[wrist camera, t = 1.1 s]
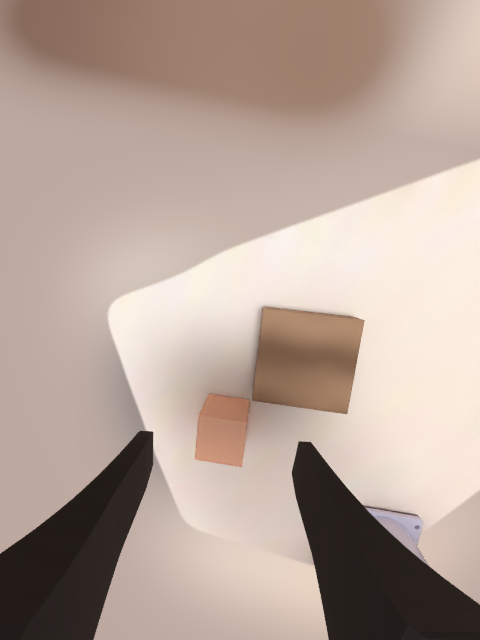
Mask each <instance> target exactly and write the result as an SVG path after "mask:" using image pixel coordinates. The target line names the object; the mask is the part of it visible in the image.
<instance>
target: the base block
mask: <svg viewBox="0 0 480 640" xmlns="http://www.w3.org/2000/svg"><path fill="white" fill-rule="evenodd" d="M363 325H364V320H362V319H359V318H356V317H350V316H342V315H333V314H324V313H315V312H306V311H298V310H289V309H280V308H271V307H263V313H262V322H261V330H260V338H259V347H258V355H257V363H256V371H255V380H254V388H253V398H252V401H259V402H266V403H273V404H280V405H287V406H294V407H301V408H308V409H314V410H321V411H328V412H335V413H342V414H347V412H348V407H349V401H350V396H351V390H352V385H353V380H354V374H355V369H356V363H357V358H358V353H359V347H360V342H361V336H362V331H363Z"/></svg>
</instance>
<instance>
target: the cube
mask: <svg viewBox="0 0 480 640" xmlns="http://www.w3.org/2000/svg"><path fill="white" fill-rule="evenodd" d="M249 402H250V400H246V399H240V398H233V397H226V396H219V395H212V394H209V395H208V397H207V399H206V401H205V403H204V406H203V408H202V410H201V412H200V414H199V417H198V429H197V440H196V452H195V459H196V460H202V461H208V462H214V463H220V464H226V465H232V466H238V467H242V463H243V454H244V446H245V438H246V429H247V421H248V411H249Z"/></svg>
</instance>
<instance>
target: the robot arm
mask: <svg viewBox="0 0 480 640" xmlns="http://www.w3.org/2000/svg"><path fill="white" fill-rule="evenodd" d="M152 466H153V432H149V431H140V432H138V433H137V434H136V436H135V437H134V438H133V439H132V440H131V441H130V443H129V444H128V445H127V446H126V447H125V448H124V449H123V450H122V451H121V452H120V454H119V455H118V456H117V457H116V458H115V459H114V460H113V461H112V462H111V463H110V464H109V465H108V466H107V467H106V468H105V469H104V470H103V471H102V472H101V473H100V474H99V475H98V476H97V477H96V478H95V479H94V480H93V481H92V482H91V483H90V484H89V485H87V486H86V487H85V488H84V489H83V490H82V491H81V492H80V493H79V494H78V495H76V496H75V497H74V498H73V499H72V500H71V501H69V502H68V503H67V504H66V505H65V506H63V507H62V508H61V509H60V510H59V511H58V512H56V513H55V514H54V515H52V516H51V517H50V518H49V519H47V520H46V521H45V522H44V523H42V524H41V525H40V526H39V527H37V528H36V529H35V530H33V531H32V532H30V533H29V534H28V535H26V536H25V537H23V538H22V539H21V540H19V541H18V542H16V543H15V544H13V545H12V546H11V547H9V548H8V549H6V550H5V551H4V552H2V553H1V554H0V640H93V639H94V636H95V632H96V629H97V626H98V622H99V619H100V616H101V613H102V609H103V605H104V603H105V599H106V596H107V593H108V590H109V586H110V584H111V580H112V577H113V574H114V571H115V568H116V565H117V562H118V559H119V555H120V553H121V550H122V548H123V545H124V542H125V540H126V538H127V535H128V533H129V530H130V528H131V525H132V522H133V520H134V517H135V515H136V512H137V510H138V507H139V505H140V502H141V500H142V498H143V495H144V492H145V490H146V487H147V483H148V480H149V477H150V473H151V470H152ZM292 477H293V483H294V489H295V494H296V499H297V502H298V506H299V510H300V513H301V517H302V520H303V524H304V528H305V531H306V535H307V538H308V542H309V545H310V549H311V552H312V556H313V561H314V565H315V569H316V574H317V579H318V584H319V589H320V594H321V599H322V604H323V610H324V615H325V621H326V626H327V632H328V637H329V640H480V605H479V604H478V603H477V602H475V601H474V600H473V599H471V598H470V597H469V596H467V595H466V594H464V593H463V592H462V591H460V590H459V589H458V588H456V587H455V586H454V585H452V584H451V583H450V582H448V581H447V580H446V579H444V578H443V577H442V576H440V575H439V574H438V573H437V572H435V571H434V570H433V569H432V568H430V567H429V565H428V564H427V562H426V560H425V559H424V557H423V555H422V554H421V552H420V550H419V549H418V547H417V544H418V540H419V537H420V533H421V529H422V525H423V522H422V520H421V518H420V517H418V516H413V515H407V514H401V513H395V512H390V511H384V510H378V509H372V508H367V507H364V506H363V505H362V504H361V503H360V502H359V501H358V500H357V499H356V497H355V496H354V495H353V494H352V493H351V492H350V491H349V490H348V488H347V487H346V486H345V485H344V484H343V482H342V481H341V480H340V479H339V478H338V476H337V475H336V474H335V473H334V471H333V470H332V469H331V468H330V466H329V465H328V464H327V462H326V461H325V460H324V459H323V457H322V456H321V455H320V453H319V452H318V451H317V449H316V448H315V447H314V446H313V444H312V443H311V442H300V441H299V444H298V448H297V452H296V457H295V461H294V465H293V470H292Z"/></svg>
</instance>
